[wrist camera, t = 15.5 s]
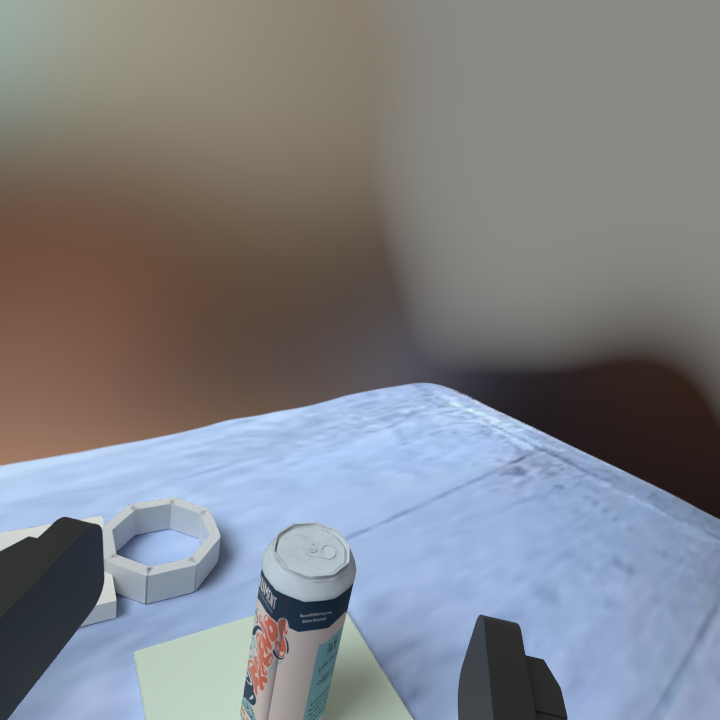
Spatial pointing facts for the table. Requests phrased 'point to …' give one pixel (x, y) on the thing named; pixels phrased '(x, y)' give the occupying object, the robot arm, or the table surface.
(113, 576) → the charging dock
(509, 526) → the table surface
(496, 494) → the table surface
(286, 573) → the beer can
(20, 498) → the table surface
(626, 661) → the table surface
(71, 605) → the robot arm
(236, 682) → the sage mat
